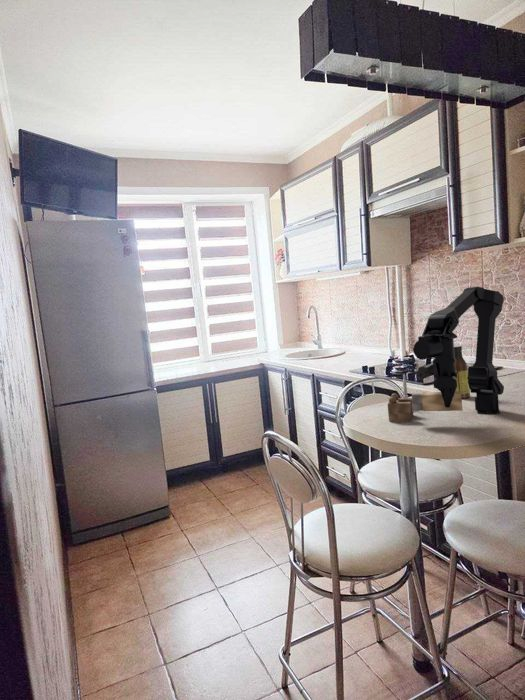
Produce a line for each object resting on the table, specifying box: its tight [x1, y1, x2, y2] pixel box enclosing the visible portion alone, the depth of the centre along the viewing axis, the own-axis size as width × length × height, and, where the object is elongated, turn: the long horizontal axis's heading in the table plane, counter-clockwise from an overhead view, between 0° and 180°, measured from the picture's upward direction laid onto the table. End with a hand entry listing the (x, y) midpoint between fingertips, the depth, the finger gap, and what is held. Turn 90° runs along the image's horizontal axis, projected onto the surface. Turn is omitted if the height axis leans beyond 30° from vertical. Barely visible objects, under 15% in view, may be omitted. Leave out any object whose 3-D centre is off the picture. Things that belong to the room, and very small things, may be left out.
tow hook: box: [402, 373, 409, 398], centre depth 161 cm, size 8×13×9 cm
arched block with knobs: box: [387, 392, 414, 422], centre depth 146 cm, size 7×8×8 cm
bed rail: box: [411, 391, 463, 412], centre depth 133 cm, size 14×4×5 cm, turn 66°
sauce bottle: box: [454, 345, 471, 399], centre depth 166 cm, size 6×6×20 cm
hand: (447, 405), depth 132 cm, fingers closed on bed rail, 4 cm apart
